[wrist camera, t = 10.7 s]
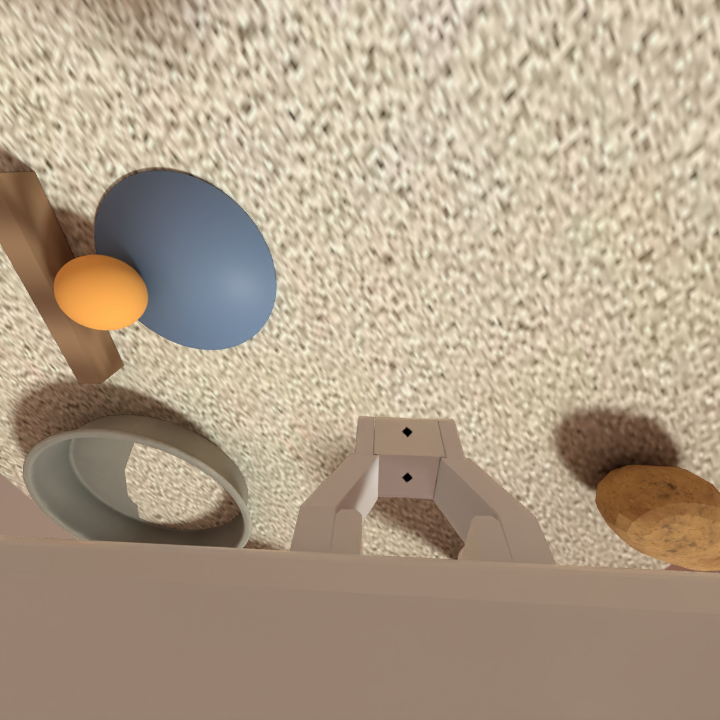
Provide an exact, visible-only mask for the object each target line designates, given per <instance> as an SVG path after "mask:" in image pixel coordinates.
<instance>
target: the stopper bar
mask: <svg viewBox="0 0 720 720" xmlns="http://www.w3.org/2000/svg"><path fill="white" fill-rule="evenodd" d="M0 244H1V245H2V247H3V249H4V251H5V253H6V254H7V256H8V258H9V260H10V261H11V263H12V265H13V267H14V268H15V270H16V272H17V274H18V276H19V277H20V279H21V281H22V283H23V284H24V286H25V288H26V290H27V291H28V293H29V295H30V297H31V299H32V300H33V302H34V304H35V306H36V307H37V309H38V311H39V313H40V314H41V316H42V318H43V320H44V322H45V323H46V325H47V327H48V329H49V330H50V332H51V334H52V336H53V337H54V339H55V341H56V343H57V345H58V346H59V348H60V350H61V352H62V353H63V355H64V357H65V359H66V360H67V362H68V364H69V366H70V368H71V369H72V371H73V373H74V375H75V376H76V378H77V380H78V382H79V383H93V384H101V383H103V382H104V381H105V380H106V379H108V378H109V377H110V376H111V375H113V374H114V373H115V372H116V371H118V370H119V369H120V368H121V367H123V366H124V364H123V362H122V360H121V358H120V355H119V353H118V351H117V349H116V347H115V345H114V342H113V340H112V338H111V336H110V334H109V332H108V330H97V329H92V328H89V327H85V326H83V325H81V324H79V323H77V322H75V321H74V320H72V319H71V318H69V317H68V316H67V315H66V314H65V313H64V312H63V311H62V309H61V308H60V307H59V305H58V303H57V301H56V299H55V295H54V281H55V277H56V275H57V273H58V272H59V270H60V269H61V268H62V267H63V266H64V265H65V264H66V263H68V262H69V261H71V260H73V259H75V258H74V256H73V253H72V251H71V249H70V247H69V245H68V243H67V240H66V238H65V236H64V234H63V232H62V230H61V227H60V225H59V223H58V221H57V219H56V217H55V214H54V212H53V210H52V208H51V206H50V204H49V201H48V199H47V197H46V195H45V193H44V191H43V188H42V186H41V184H40V182H39V180H38V178H37V175H36V173H35V172H0Z"/></svg>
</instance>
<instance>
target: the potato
mask: <svg viewBox="0 0 720 720" xmlns="http://www.w3.org/2000/svg"><path fill="white" fill-rule="evenodd" d="M595 501H596V504H597V508H598V510H599V511H600V513H601V515H602V516H603V518H604V520H605V521H606V523H607V524H608V525H609V527H610V528H611V529H612V530H613V531H614V532H615V533H616V534H617V535H618V536H619V537H620V538H621V539H622V540H623V541H625V542H626V543H627V544H628V545H629V546H631V547H632V548H634V549H636V550H638V551H639V552H641V553H643V554H646V555H648V556H651V557H654V558H656V559H659V560H662V561H665V562H667V563H670V564H674V565H678V566H681V567H684V568H688V569H693V570H697V571H716V570H720V492H719V491H718V490H717V489H716V488H715V486H714V485H713V484H711V483H709V482H708V481H706V480H704V479H702V478H700V477H699V476H697V475H695V474H693V473H691V472H689V471H688V470H686V469H681V468H677V467H667V466H651V465H627V466H624V467H621V468H618V469H615V470H612V471H610V472H609V473H608V474H607V475H606V476H605V477H604V478H603V479H602V480H601V481H600V482H599V483H598V486H597V493H596V500H595Z"/></svg>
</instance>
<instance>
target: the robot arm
mask: <svg viewBox="0 0 720 720" xmlns="http://www.w3.org/2000/svg"><path fill="white" fill-rule="evenodd" d="M378 497H404V498H419V499H433V501H434V502H435V504H436V505H437V507H438V508H439V509H440V511H441V512H442V513H443V515H444V516H445V517H446V519H447V520H448V522H449V523H450V524H451V526H452V527H453V528H454V530H455V531H456V533H457V534H458V535H459V537H460V538H461V539H462V541H463V542H464V543H465V546H464V549H463V553H462V556H461V560H456V559H437V558H418V557H399V556H380V555H362V522H363V521H364V519H365V518H366V516H367V515H368V513H369V512H370V510H371V509H372V507H373V505H374V504H375V502H376V501H377V499H378ZM0 720H720V573H707V572H689V571H670V570H651V569H632V568H613V567H593V566H574V565H556V562H555V560H554V558H553V555H552V553H551V551H550V549H549V546H548V544H547V542H546V539H545V537H544V535H543V532H542V530H541V528H540V525H539V523H538V521H537V518H536V517H535V516H534V515H533V514H532V513H531V512H530V511H529V510H527V509H526V508H525V507H524V506H523V505H522V504H521V503H520V502H518V501H517V500H516V499H515V498H514V497H513V496H512V495H511V494H509V493H508V492H507V491H506V490H505V489H504V488H503V487H502V486H500V485H499V484H498V483H497V482H496V481H495V480H494V479H493V478H491V477H490V476H489V475H488V474H487V473H486V472H485V471H484V470H482V469H481V468H480V467H479V466H478V465H477V464H476V463H475V462H473V461H472V460H471V459H470V458H465V456H464V452H463V449H462V445H461V442H460V438H459V435H458V431H457V428H456V424H455V421H454V420H453V419H421V418H393V417H375V429H374V417H368V416H359V418H358V425H357V436H356V447H355V454H350V455H349V456H348V457H347V458H346V459H345V460H344V461H343V462H342V463H341V464H340V465H339V466H338V467H337V469H336V470H335V471H334V472H333V473H332V474H331V475H330V476H329V477H328V478H327V479H326V480H325V481H324V482H323V483H322V484H321V485H320V486H319V487H318V488H317V489H316V490H315V491H314V492H313V494H312V495H311V496H310V497H309V498H308V499H307V500H306V501H305V502H304V503H303V504H302V505H301V506H300V510H299V515H298V519H297V523H296V527H295V531H294V535H293V540H292V544H291V548H290V551H285V550H266V549H246V548H227V547H208V546H189V545H170V544H151V543H131V542H112V541H93V540H74V539H55V538H35V537H16V536H0Z"/></svg>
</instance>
